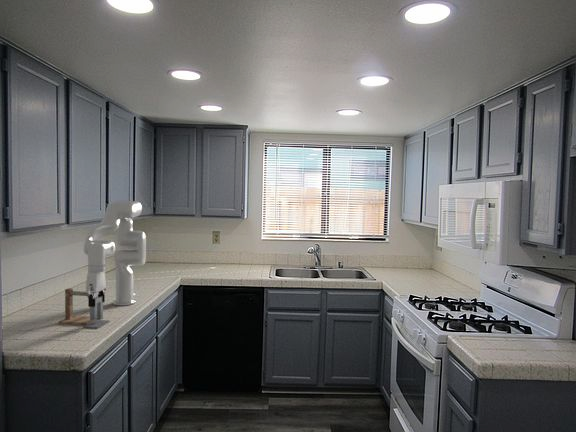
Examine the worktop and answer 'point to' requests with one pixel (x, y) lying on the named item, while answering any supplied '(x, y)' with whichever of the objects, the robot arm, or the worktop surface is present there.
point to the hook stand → (69, 310)
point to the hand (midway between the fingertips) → (96, 304)
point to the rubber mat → (96, 324)
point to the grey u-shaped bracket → (97, 309)
